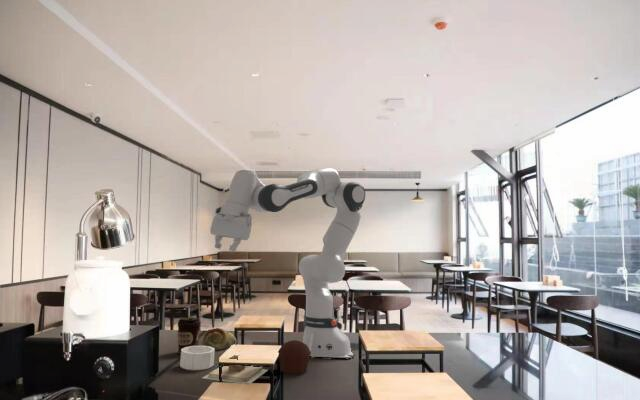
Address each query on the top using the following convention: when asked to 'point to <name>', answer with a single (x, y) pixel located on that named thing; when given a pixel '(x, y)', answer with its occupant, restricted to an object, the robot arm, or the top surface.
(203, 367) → the bowl
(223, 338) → the pastry
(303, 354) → the muffin
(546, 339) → the top surface
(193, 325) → the coffee cup
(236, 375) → the lid
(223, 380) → the mat
